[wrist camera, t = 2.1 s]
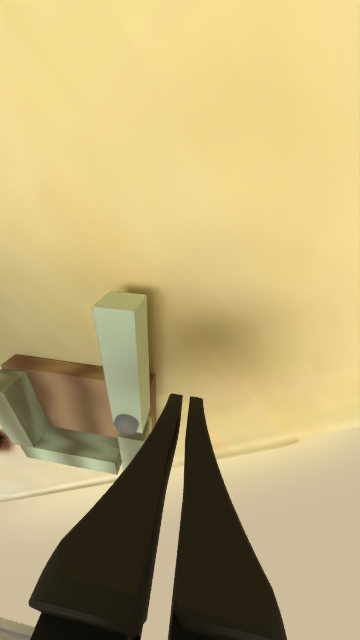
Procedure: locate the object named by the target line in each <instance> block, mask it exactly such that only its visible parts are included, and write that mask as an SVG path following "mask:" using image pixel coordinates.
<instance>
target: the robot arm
mask: <svg viewBox="0 0 360 640" xmlns="http://www.w3.org/2000/svg"><path fill="white" fill-rule="evenodd" d="M182 397H183V395H178V394H170V396H169V399H168V401H167V403H166V406H165V408H164V410H163V412H162V414H161V416H160V417H159V419H158V421H157V423H156V424H155V426H154V428H153V430H152V431H151V433H150V434H149V436H148V437H147V439H146V441H145V442H144V444H143V445H142V447H141V448H140V450H139V451H138V452H137V454H136V455H135V457H134V458H133V459H132V461H131V462H130V463H129V465H128V466H127V467H126V469H125V470H124V471H123V472H122V474H121V475H120V476H119V477H118V479H117V480H116V481H115V482H114V483H113V485H112V486H111V487H110V488H109V489H108V491H107V492H106V493H105V494H104V495H103V496H102V497H101V498H100V500H99V501H98V502H97V503H96V504H95V505H94V507H93V508H92V509H91V510H90V511H89V512H88V513H87V514H86V515H85V516H84V517H83V518H82V519H81V520H80V521H79V522H78V523H77V524H76V525H75V526H74V527H73V528H72V530H71V531H70V532H69V533H68V534H67V535H66V536H65V537H64V538H63V539H62V540H61V541H60V543H59V544H58V546H57V548H56V549H55V551H54V552H53V554H52V556H51V557H50V559H49V560H48V562H47V564H46V566H45V568H44V569H43V571H42V574H41V576H40V578H39V580H38V582H37V584H36V587H35V589H34V591H33V593H32V595H31V598H30V600H29V606H30V607H32V608H34V609H36V610H38V611H40V612H41V615H40V617H39V620H38V622H37V624H36V627H32V626H29V625H25V624H22V623H18V622H14V621H11V620H8V619H4V618H0V640H140V639H141V633H142V627H143V624H144V623H145V621H146V620H147V614H148V606H149V599H150V593H151V586H152V579H153V572H154V565H155V559H156V552H157V546H158V539H159V533H160V526H161V520H162V512H163V506H164V500H165V494H166V489H167V484H168V479H169V475H170V471H171V466H172V462H173V457H174V453H175V449H176V444H177V440H178V434H179V427H180V420H181V409H182ZM168 640H287V637H286V633H285V629H284V625H283V621H282V617H281V614H280V610H279V607H278V604H277V601H276V598H275V595H274V592H273V589H272V587H271V585H270V583H269V581H268V579H267V577H266V575H265V573H264V571H263V569H262V567H261V565H260V563H259V561H258V559H257V557H256V555H255V553H254V551H253V549H252V547H251V544H250V542H249V540H248V538H247V536H246V534H245V532H244V530H243V527H242V525H241V523H240V520H239V518H238V515H237V513H236V511H235V509H234V507H233V504H232V502H231V499H230V497H229V494H228V492H227V489H226V486H225V484H224V481H223V478H222V476H221V473H220V470H219V467H218V464H217V461H216V458H215V455H214V452H213V448H212V445H211V441H210V437H209V433H208V429H207V425H206V420H205V414H204V407H203V399H202V398H198V397H191V396H190V402H189V411H188V420H187V429H186V437H185V462H184V489H183V502H182V511H181V521H180V531H179V540H178V549H177V559H176V568H175V578H174V587H173V596H172V606H171V616H170V625H169V634H168Z"/></svg>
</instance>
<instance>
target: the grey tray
mask: <svg viewBox="0 0 360 640" xmlns="http://www.w3.org/2000/svg"><path fill="white" fill-rule="evenodd" d="M1 366H2V368H3V369H1V370H0V424H1V426H2V428H3V429H4V431H5V432H6V434H7V435H8V437H9V438H10V440H11V441H12V443H13V444H17V445H20V446H21V448H22V449H23V451H24V453H25V454H26V456H27V457H29V458H34V459H39V460H45V461H50V462H55V463H60V464H65V465H70V466H75V467H80V468H85V469H90V470H96V471H101V472H106V473H111V474H116V475H117V474H118V471H119V468H120V466H121V463H122V465H123V470H125V469H126V467H127V466H128V465H129V463H130V462H131V461H132V459H133V458H134V457H135V455H136V454H137V452H138V451H139V450H140V448H141V447H142V445H143V444H144V442H145V441H146V439H147V437H148V436H149V434H150V433H151V431H152V430H153V428H154V426H155V424H156V408H155V374H149V382H150V411H149V414H148V417H147V420H146V424H145V427H144V430H143V433H138V432H136V433H134V434H124V433H121V432H119V431H118V430H117V429H114V425H113V419H112V413H111V408H110V402H109V397H108V392H107V386H106V381H105V375H104V370H103V367H100V366H93V365H86V364H79V363H72V362H65V361H58V360H51V359H44V358H37V357H30V356H23V355H16V354H15V355H14V356H13V357H11V358H10V359H9V360H7V361H6V362H5V363H3V364H2V365H1Z"/></svg>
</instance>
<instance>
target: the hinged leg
mask: <svg viewBox="0 0 360 640" xmlns="http://www.w3.org/2000/svg"><path fill="white" fill-rule="evenodd" d="M92 311H93V316H94V321H95V327H96V332H97V338H98V343H99V348H100V354H101V359H102V365H103V370H104V375H105V381H106V386H107V392H108V397H109V402H110V408H111V413H112V419H113V425H114V429H117V430H118V431H119V432H121V433H124V434H134V433H136V432H138V433H143V430H144V427H145V424H146V420H147V417H148V414H149V411H150V382H149V352H148V323H147V295H144V294H134V293H125V292H115V291H110V292H109V293H108V294H107V295H105V296H104V297H103V298H102V299H101V300H99V301H98V302H97V303H96V304H95V305H93V306H92Z"/></svg>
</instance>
